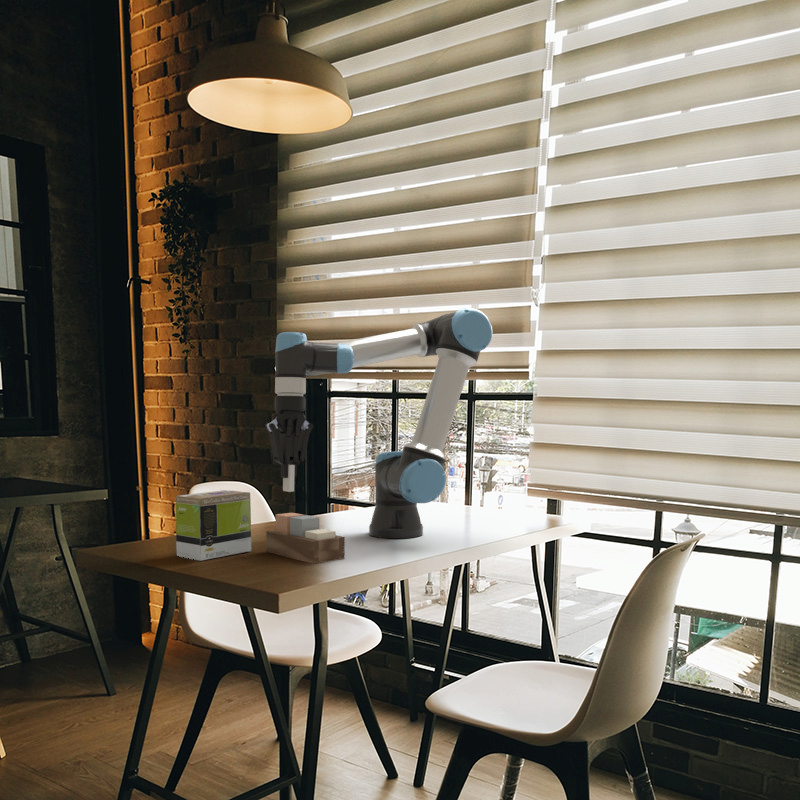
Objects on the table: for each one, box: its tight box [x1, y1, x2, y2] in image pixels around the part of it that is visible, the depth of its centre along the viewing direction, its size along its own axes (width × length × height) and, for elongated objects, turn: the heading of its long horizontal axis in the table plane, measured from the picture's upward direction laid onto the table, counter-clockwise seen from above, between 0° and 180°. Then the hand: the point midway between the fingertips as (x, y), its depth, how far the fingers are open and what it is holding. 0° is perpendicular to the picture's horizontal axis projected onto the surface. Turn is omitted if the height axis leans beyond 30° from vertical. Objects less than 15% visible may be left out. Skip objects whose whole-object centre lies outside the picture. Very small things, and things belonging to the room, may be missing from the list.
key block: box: [265, 529, 346, 565], centre depth 173 cm, size 9×19×5 cm, turn 42°
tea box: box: [175, 489, 252, 562], centre depth 174 cm, size 15×10×15 cm, turn 141°
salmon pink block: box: [274, 512, 305, 534], centre depth 178 cm, size 5×5×6 cm
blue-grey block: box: [290, 514, 320, 537], centre depth 173 cm, size 5×5×6 cm
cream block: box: [305, 528, 336, 540], centre depth 169 cm, size 5×5×6 cm
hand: (288, 491), depth 178 cm, fingers closed
